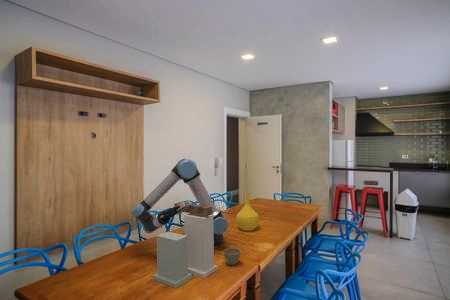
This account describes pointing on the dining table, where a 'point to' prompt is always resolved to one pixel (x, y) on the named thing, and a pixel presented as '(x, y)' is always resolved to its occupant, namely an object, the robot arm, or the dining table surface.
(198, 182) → the robot arm
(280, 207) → the dining table surface
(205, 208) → the walnut beam
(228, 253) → the beige round bowl
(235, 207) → the dining table surface
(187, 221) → the tall stand
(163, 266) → the post
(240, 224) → the vase
